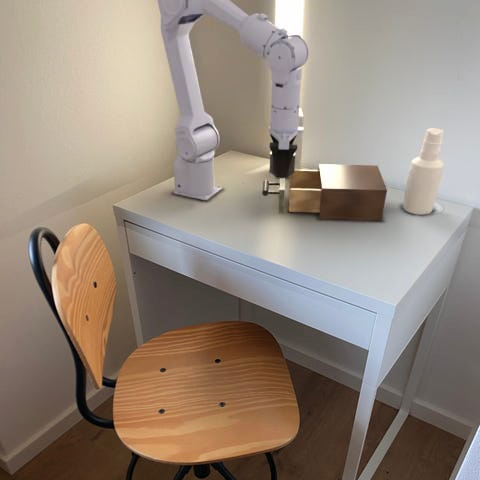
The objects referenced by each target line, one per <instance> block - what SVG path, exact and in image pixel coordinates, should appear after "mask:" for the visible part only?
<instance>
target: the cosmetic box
mask: <svg viewBox="0 0 480 480" xmlns="http://www.w3.org/2000/svg"><path fill="white" fill-rule="evenodd" d="M304 117H305V116H304V114H303V111H302V108H301V107H299V121H298V127H303V128H304V120H305V119H304ZM303 135H304V132H303V133H298V134H297V136H296V138H295V140H294V142H293V144H292V145H297V150H296V152H295V168H294V169H298V170H302V155H303V153H302V152H303ZM288 178H290V176H289V177H288Z"/></svg>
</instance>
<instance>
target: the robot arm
mask: <svg viewBox="0 0 480 480" xmlns="http://www.w3.org/2000/svg"><path fill="white" fill-rule="evenodd" d="M157 4H158V9H159V13H160V33H161V38H162V42H163V46H164V49H165V54H166V59H167V63H168V67H169V68H168V69H169V72H170V76H171V81H172V85H173V89H174V94H175V98H176V102H177V106H178V107H177V108H178V110H179V115H180V118H179V119H178V121H177V124H176V126H175V127H174V131H175V135H176V136H175V149H176V152H177V153H178V155H177V156H176V157H175V158H174V161H173V177H174V191H173V194H175V195H178V196H183V197H187V198H191V199H196V200H202V201H209V199H210V198H212V197H213V196H214V195H216V194H217V193H218V192H220V191H221V190H222V187H221V186H217V185H215V184H216V183H215V182H216V180H215V155H216V150H217V148H218V147H219V145H220V143H221V142H220V141H221V139H220V138H221V137H220V133H219V131H218V129H217V127H216V126H215V124H214V119H213V117H212V116H211V115H210V114H208V113H207V112H206V111H205V108H204V103H203V99H202V93H201V90H200V85H199V80H198V74H197V70H196V69H197V68H196V66H195V61H194V55H193V51H192V47H191V41H190V37H189V34H190V32H191V30H192V29H193V27H194V25H195V23H197V21H198V20H200V19H201V18H202V17H203V16H204V15H205V14H208V15H210V16H211V17H213V18H214V19H215V20H218V21H219V22H221V23H222V24H224V25H226V26H227V27H229V28H230V29H232V30H234V31H236V32H237V33H239V37H240V38H239V39H240V41H241V43H242V44H243V45H244V46H245V47H247V48H248V49H250V50H251V51H253V52H254V53H256V55H258V56H260V57H262V58H263V59H264V60H266V63H267V66H268V68H269V70H270V73H271V74H270V77H271V78H270V79H271V90H270V91H271V93H270V94H271V95H270V120H269V122H270V123H269V127H268V133H269V136H270V138H271V141H272V142H271V141H270V142H269V149H270V152H272V154H273V157H274V161H275V169H276V175H277V177H287V175H288V171H289V167H290V163H291V160H292V157H293V155H294V153H295V152H296V150H297V145H292V144H293V142H294V140H295V138H296V136H297V134H298V133H303V134H304V133H305V132H304V130H305V128H304V126H303V127H298V121H299V108H300V106H301V105H300V104H301V91H302V78H303V77H302V75H303V66H305V64H306V63H307V61H308V60H309V59H308V58H309V47H308V44H307V42H306V40H305V39H303V38H302V36H301V35H300V34H291V35H289V34H288V31H287V30H286V29H285V28H280V27H278V26H276V25H275V24H274V23H272V22H271V21H269V20H268V19H269V16H268V15H267V14H265V13H260V14H259V13H252V14H251V15H249V14H247V13H246V12H245V11H243V9H241V8H240V7H238V6H237V5H236V4H235V3H234V2H233V1H231V0H157ZM277 177H276V178H277ZM287 178H288V177H287Z"/></svg>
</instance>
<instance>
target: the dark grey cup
mask: <svg viewBox="0 0 480 480" xmlns="http://www.w3.org/2000/svg"><path fill="white" fill-rule="evenodd" d="M294 168H295V153H294V155H293V157H292V160H291V163H290V167H289V171H288V175H287V177H277V175H276V169H275V161H274V157H273V154H272V152H271V151H269V173H270V174H271V175H272V176H274V177H275V178H277V179H280V178H285V179H287V178H290V177H289V176H290V175H292V174H293V173H294Z"/></svg>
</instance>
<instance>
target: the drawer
mask: <svg viewBox="0 0 480 480" xmlns="http://www.w3.org/2000/svg"><path fill="white" fill-rule="evenodd" d="M278 179H279V181H269V180H267V179H264V180H263V182H262V189H261V190H262V191H261V195H262V196H263V197H267V196H268V195H278V213H277V214H279V215H280V214H281V215H282V214H283V215H284V213H285V196H286V178H278ZM288 181H289V182H288V211H289V213H291V212H292V213H317V214H318V213H319V212H320V203H321V193H322V188H321V181H320V173H319V170H318V169H301V170H298V169H294V173H293V174H292V175H290V177H289V179H288ZM270 186H278V190H270V188H269V187H270Z"/></svg>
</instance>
